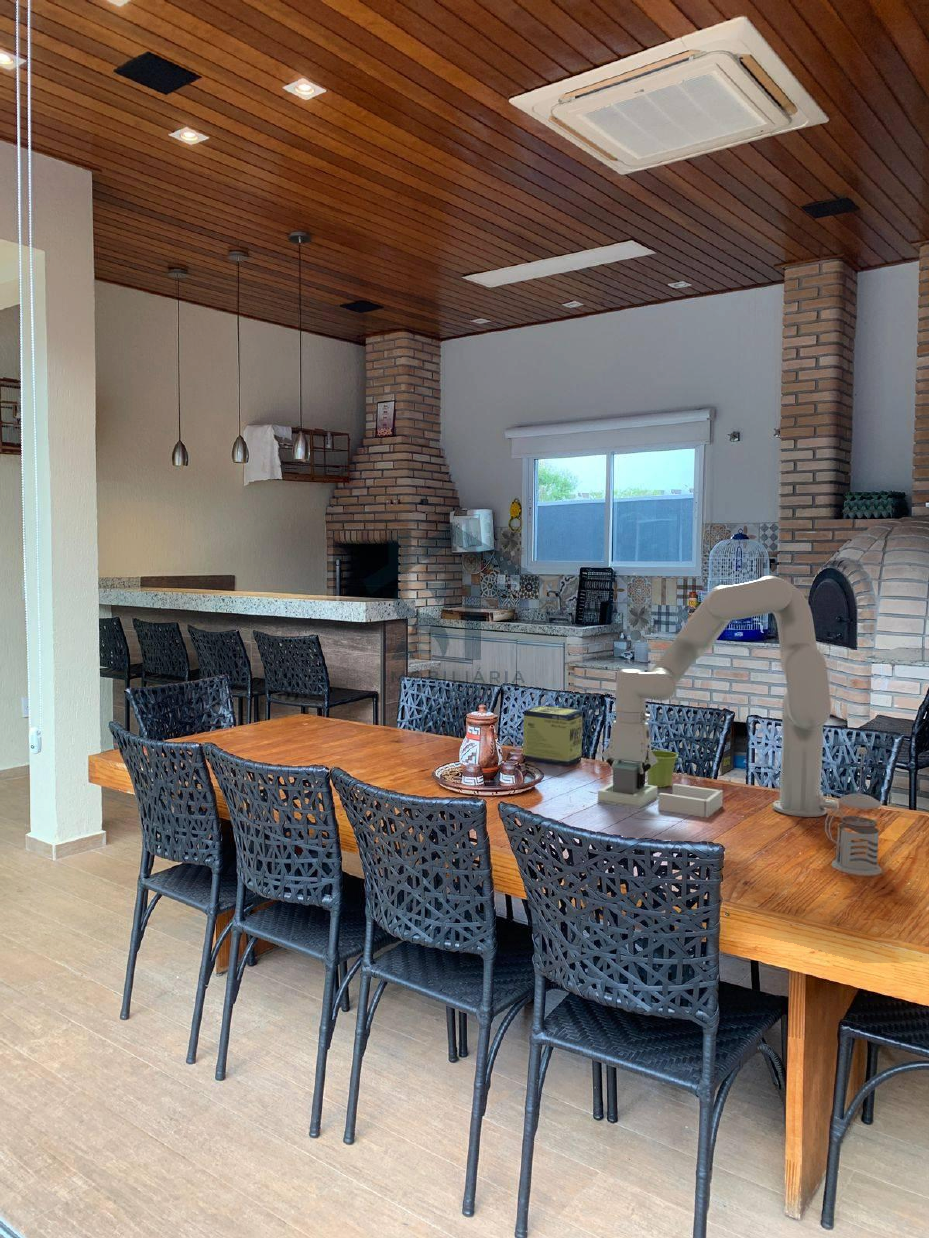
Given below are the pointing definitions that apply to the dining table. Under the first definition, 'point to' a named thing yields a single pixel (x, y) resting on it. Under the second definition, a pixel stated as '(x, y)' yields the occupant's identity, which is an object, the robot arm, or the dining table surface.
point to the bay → (691, 800)
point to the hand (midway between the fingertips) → (628, 785)
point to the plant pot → (662, 768)
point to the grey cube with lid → (625, 777)
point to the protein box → (552, 735)
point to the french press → (857, 835)
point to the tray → (627, 796)
